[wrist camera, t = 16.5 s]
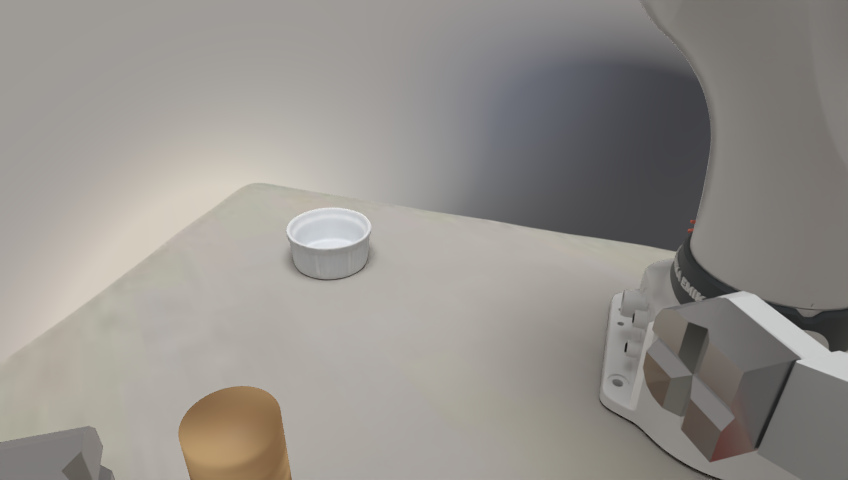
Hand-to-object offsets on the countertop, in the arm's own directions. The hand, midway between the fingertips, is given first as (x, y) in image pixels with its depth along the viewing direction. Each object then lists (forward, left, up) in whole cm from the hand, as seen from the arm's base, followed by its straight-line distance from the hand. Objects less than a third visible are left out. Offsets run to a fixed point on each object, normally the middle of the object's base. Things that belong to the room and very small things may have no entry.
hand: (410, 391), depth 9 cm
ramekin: (-48, -16, -30) cm, 59 cm away
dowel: (-10, -9, -29) cm, 32 cm away
